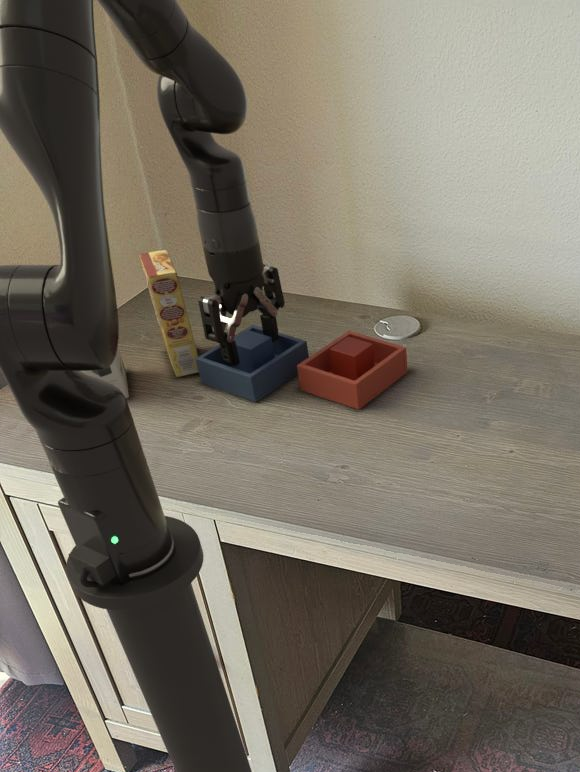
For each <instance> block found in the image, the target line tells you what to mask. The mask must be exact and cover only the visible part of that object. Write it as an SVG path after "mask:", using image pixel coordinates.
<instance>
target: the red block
mask: <svg viewBox="0 0 580 772" xmlns="http://www.w3.org/2000/svg"><path fill="white" fill-rule="evenodd" d="M330 355H331V362H332V370H333V374H335V375H338V376H341V377H345V378H348V379H351V380H354V381H355V380H357V379H358V378H359V377H361V376H362V375H363V374H365V373H366V372H368V371H369V370H370V369H372V368H373V367H374V366H375V363H374V352H373V344H371V343H368V342H365V341H361V340H358V339H355V338H351V337H347V338H345V339H344V340H342V341H341V342H339V343H338V344H336V345H335V346H333V347H332V348H331V349H330Z"/></svg>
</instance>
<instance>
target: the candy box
mask: <svg viewBox="0 0 580 772" xmlns="http://www.w3.org/2000/svg"><path fill="white" fill-rule="evenodd" d="M139 260H140V263H141V267H142V270H143V274H144V277H145V278H144V279H145V281H146V285H147V288H148V291H149V292H148V293H149V295H150V299H151V302H152V306H153V309H154V312H155V313H154V314H155V316H156V320H157V323H158V327H159V330H160V334H161V336H162V340H163V343H164V345H165V349H166V352H167V355H168V359H169V361H170V364H171V367H172V370H173V371H174V374H175V376H176V378H180V377H183V376H190V375H193V374H199V371H198V367H197V363H196V358H197V357H199V353H198V349H197V346H196V342H195V337H194V334H193V330H192V326H191V323H190V318H189V315H188V311H187V307H186V303H185V299H184V296H183V292H182V287H181V285H180V280H179V277H178V272H177V269H176V268H175V266H174V263H173V261H172V259H171V257H170V255H169V253H168V250H167V249H163V250H162V249H161V250H157V251H150V252H143V253H140V254H139Z"/></svg>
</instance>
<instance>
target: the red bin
mask: <svg viewBox="0 0 580 772" xmlns="http://www.w3.org/2000/svg"><path fill="white" fill-rule="evenodd" d="M347 337H351V338H355V339H358V340H361V341H365V342H368V343H371V344H373V352H374V363H375V366H374V367H373V368H372V369H370V370H369V371H368V372H366V373H365V374H363V375H362V376H361V377H359V378H358V379H357V380H355V381H354V380H351V379H348V378H345V377H341V376H338V375H335V374H333V370H332V362H331V355H330V349H331V348H332V347H333V346H335V345H336V344H338V343H339V342H341V341H342V340H344V339H345V338H347ZM407 356H408V355H407V347H405V346H403V345H399V344H396V343H392V342H388V341H385V340H382V339H380V338H379V339H378V338H376V337H373V336H368V335H365V334H362V333H359V332H356V331H352V330H348V331H346V332H345V333H343V334H341V335H340V336H338V337H337V338H335V339H334V340H332V341H331V342H329V343H328V344H326V345H325V346H323V347H322V348H321V349H319V350H317V351H316V352H314V353H313V354H311V355H310V356H309V358H307V359H306V360H304V361H303V362H301V363H300V364H298V365H297V369H298V374H297V375H298V381H299V387H300V391H302V392H305V393H308V394H311V395H314V396H317V397H320V398H323V399H326V400H329V401H332V402H335V403H337V404H340V405H344V406H346V407H350V408H351V409H352V408H353V409H356V410H361V409H362V408H363V407H365V406H366V405H367V404H368V403H370V402H371V401H372V400H373V399H375V398H376V397H378V396H379V395H380V394H381V393H382V392H384V391H385V390H387V389H388V388H389V387H391V386H392V385H393V384H394V383H396V381H398V380H400V379H402V377H403V376H405V375H406V374H407V373H408V372H409V370H408V357H407Z"/></svg>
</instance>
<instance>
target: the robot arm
mask: <svg viewBox="0 0 580 772" xmlns="http://www.w3.org/2000/svg"><path fill="white" fill-rule="evenodd" d="M96 1H97V2H98V4H99V5H100V7H101V8H102V9H103V10H104V12H105V13H106V14H107V15H108V17H109V18H110V21H111V22H112V23H113V24H114V26H115V27H116V29H117V30H118V31H119V33H120V34H121V36H122V37H123V39H124V40H125V41H126V43H127V44H128V46H129V47H130V49H132V51H133V52H134V54H135V55H136V57H137V58H138V59H139V61H140V62H141V63H142V64H143V66H144V67H145V68H147V69H148V70H149V71H150V72H151V73H153V74H155V75H157V76H158V78H157V84H156V99H157V104H158V108H159V112H160V115H161V117H162V120H163V123H164V125H165V127H166V129H167V131H168V133H169V135H170V137H171V139H172V142H173V143H174V146H175V147H176V149H177V152H178V154H179V157H180V158H181V161H182V162H183V164H184V166H185V168H186V170H187V173H188V176H189V181H190V187H191V190H192V191H191V192H192V195H193V200H194V205H195V209H196V220H197V226H198V227H197V228H198V231H199V237H200V241H201V245H202V250H203V254H204V258H205V264H206V268H207V273H208V275H209V277H210V278H211V281H212V282H213V284H214V294H213V295H210V296H208V297H207V296H203V295H202V296H199V298H198V307H199V311H200V317H201V322H202V327H203V333H204V338H205V340H208V341H212V342H216V343H217V344H218V345H219V344H220V348H221V353H222V357H223V360H224V361H225V362H226V363H228V364H230V365H233V366H236V365H238V364H239V363H240V361H239V356H238V351H237V347H236V342H235V340H233V339H234V336H235V335H236V331H237V328H239V327H240V326H241V323H242V319H243V318H245V317H246V316H247V315H248V314H250V313H252V312H255V311H258V312H259V313H261V314H260V315H259V316H260V322H261V323H260V324H261V327H262V329H263V334H264V335H266V336H269V337H271V339H272V342H275V341H277V340H278V332H279V327H278V321H277V315H278V311H279V309H282V308H284V306H285V303H286V302H285V298H284V297H285V296H284V293H283V289H282V284H281V278H280V273H279V270H278V268H277V267H274V266H271V265H267V264H264V260H263V255H262V250H261V243H260V238H259V231H258V226H257V222H256V216H255V213H254V210H253V207H252V202H251V198H250V193H249V187H248V182H247V181H248V180H247V176H246V171H245V166H244V162H243V160H242V158H241V156H239V155H238V154H237V153H236V152H234V151H232V150H230V149H228V148H226V147H224V146H222V145H220V144H219V143H218V142H217V141H216V140H215V138H214V135H213V134H217V135H232V134H234V133H236V132H237V131H239V130H240V129H242V127H243V126H244V124H245V122H246V119H247V116H248V98H247V93H246V90H245V86H244V84H243V83H242V80H241V79H240V77H239V75H238V73H237V72H236V70H235V69H234V67H233V66H232V65H231V64H230V62H228V61H227V59H226V58H225V57H224V56H223V55H222V54H221V52H219V51H218V50H217V48H215V46H213V45H212V44H211V43H210V42H209V40H208V39H207V38H206V37H205V36H204V35H203V34H201V33H200V32H199V31H198V30H197V29H196V28H195V27H194V26H193V25H192V24H191V22H190V20H189V19H188V17H187V15H186V13H185V12H184V10H183V9H182V7H181V5H180V4H179V2H178V0H96ZM97 53H98V52H97V42H96V33H95V17H94V0H0V132H1V133H2V134H3V136H4V137H5V139H6V140H7V143H8V144H9V145H10V147H11V148H12V150H13V151H14V152H15V154H16V155H17V157H18V158H19V160H20V161H21V162H22V164H23V166H24V167H25V168H26V170H27V171H28V173H29V174H30V175H31V177H32V179H33V180H34V182H35V183H36V185H37V186H38V188H39V189H40V191H41V194H42V195H43V197H44V198H45V200H46V202H47V204H48V206H49V209H50V212H51V214H52V217H53V221H54V224H55V228H56V232H57V237H58V243H59V244H58V245H59V251H60V262H59V264H0V372H1V374H2V375H3V377H4V380H5V381H6V384H7V385H8V387H9V389H10V391H11V393H12V396H13V398H14V399H15V402H16V404H17V406H18V408H19V410H20V412H21V415H22V416H23V418H25V420H26V422H28V423H29V425H31V426H32V428H33V429H34V430H35V432H36V435H37V437H38V439H39V442H40V444H41V446H42V449H43V451H44V454H45V456H46V458H47V460H48V463H49V466H50V468H51V470H52V472H53V476H54V477H55V480H56V482H57V484H58V487H59V489H60V492H61V494H62V498H60V499H59V500H58V501H57V505H58V507H59V510H60V512H61V514H62V517H63V519H64V522H65V524H66V526H67V528H68V532H69V534H70V535H71V537H72V540H73V542H74V544H75V545H74V546H76V547H77V549H75V550H74V551H72V550H71V551H72V552H71V551H70V552H69V553H68V554H67V555H68V557H70V560H71V562H72V564H73V566H74V569H75V571H76V572H77V573H79V574H81V575H80V582H81V584H82V585H83V586H85V587H98V586H99V584H101V585H105V584H106V583H107V582H109V581H110V580H111V581H113V582H115V583H117V584H119V585H125V584H126V583H128V582H129V581H131V580H135V579H140V578H143V577H146V576H149V575H151V574H153V573H155V572H157V571H159V570H160V569H162V568H163V567H164V566H165V565H166V564H167V563H168V562H169V561H170V560H171V559H172V557H173V555H174V552H175V543H174V540H173V537H172V535H171V533H170V531H169V527H168V525H167V522H166V518H165V516H166V515H165V513H164V510H163V507H162V503H161V500H160V498H159V495H158V491H157V489H156V484H155V482H154V479H153V476H152V473H151V470H150V467H149V464H148V461H147V458H146V455H145V451H144V449H143V445H142V443H141V440H140V437H139V434H138V429H137V427H136V425H135V420H134V419H133V415H132V412H131V409H130V405H129V403H128V400H127V398H125V396H124V394H123V393H122V392H121V391H120V390H119V389H118V388H117V387H115V386H114V385H112V384H110V383H108V382H106V381H103V380H100V379H97V378H95V377H92V376H89V375H87V374H85V373H84V371H94V370H103V369H106V368H107V367H109V366H110V365H111V364H112V363H113V361H114V359H115V357H116V353H117V349H118V348H119V338H120V337H119V336H120V324H119V322H120V321H119V310H118V305H117V294H116V287H115V279H114V271H113V263H112V256H111V248H110V241H109V240H110V239H109V232H108V224H107V217H106V208H105V199H104V197H105V196H104V180H103V168H102V147H101V146H102V141H101V140H102V139H101V136H102V135H101V103H100V102H101V100H100V84H99V83H100V82H99V81H100V80H99V66H98V54H97ZM263 290H264V292H263ZM227 314H229V315H231V316H232V317H227ZM226 326H227V329H226ZM87 578H89V579H91V580H93V581H88V580H87Z"/></svg>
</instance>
